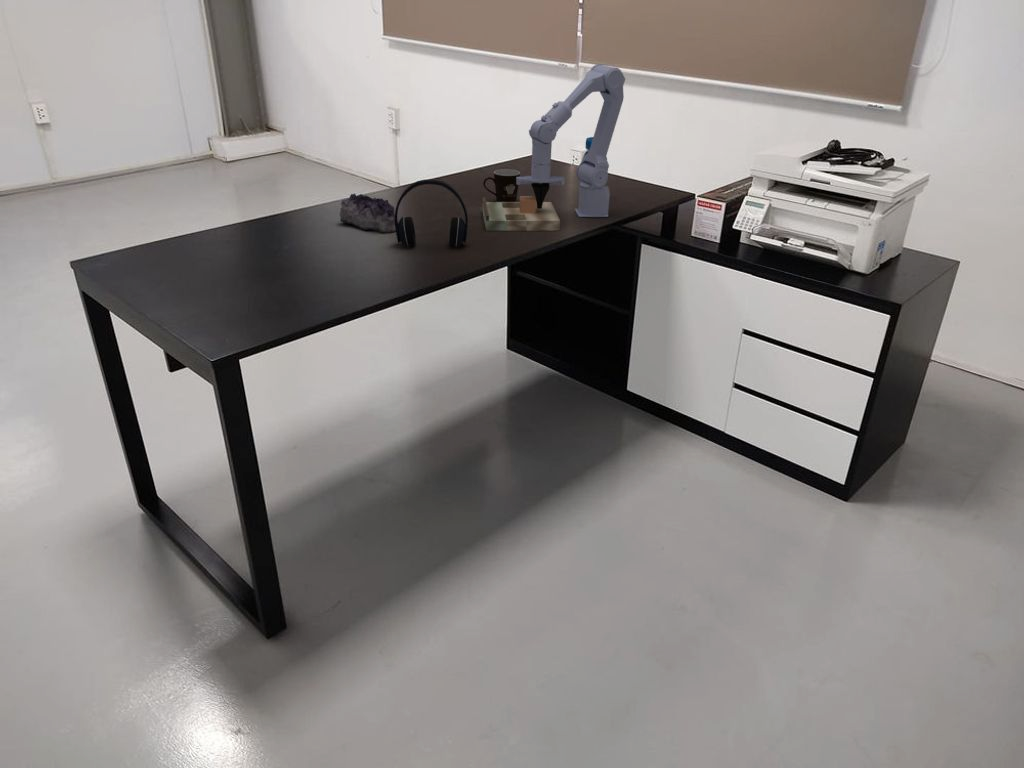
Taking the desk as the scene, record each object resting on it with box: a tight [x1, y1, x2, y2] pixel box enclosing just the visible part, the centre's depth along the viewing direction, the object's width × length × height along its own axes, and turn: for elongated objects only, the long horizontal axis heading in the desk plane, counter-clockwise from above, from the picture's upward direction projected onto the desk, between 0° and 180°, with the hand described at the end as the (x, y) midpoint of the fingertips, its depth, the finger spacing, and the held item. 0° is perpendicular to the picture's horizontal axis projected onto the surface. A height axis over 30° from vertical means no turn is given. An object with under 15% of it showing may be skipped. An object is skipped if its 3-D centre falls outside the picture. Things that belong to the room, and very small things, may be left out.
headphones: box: [394, 178, 469, 248], centre depth 211 cm, size 20×7×18 cm, turn 93°
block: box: [519, 195, 536, 213], centre depth 236 cm, size 4×4×4 cm
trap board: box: [482, 197, 561, 232], centre depth 237 cm, size 22×20×4 cm
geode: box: [339, 193, 396, 235], centre depth 228 cm, size 20×12×10 cm, turn 54°
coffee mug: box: [482, 168, 521, 202], centre depth 253 cm, size 12×9×10 cm
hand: (539, 207), depth 237 cm, fingers closed
